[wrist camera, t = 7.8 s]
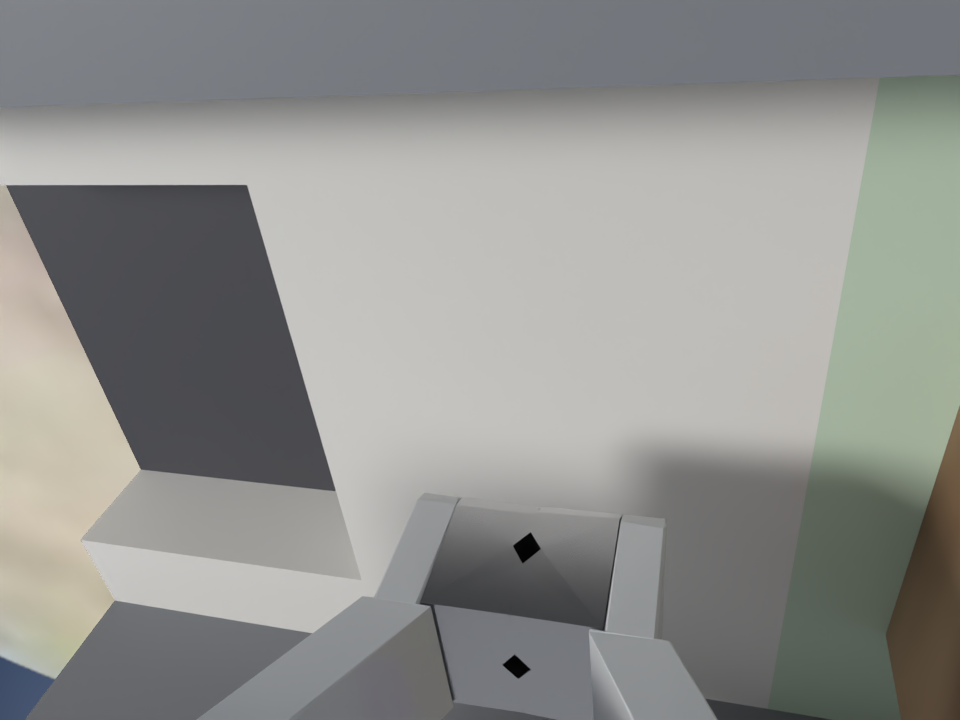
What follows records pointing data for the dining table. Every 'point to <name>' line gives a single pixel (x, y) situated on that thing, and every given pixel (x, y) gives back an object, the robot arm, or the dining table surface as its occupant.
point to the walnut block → (931, 604)
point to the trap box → (499, 310)
